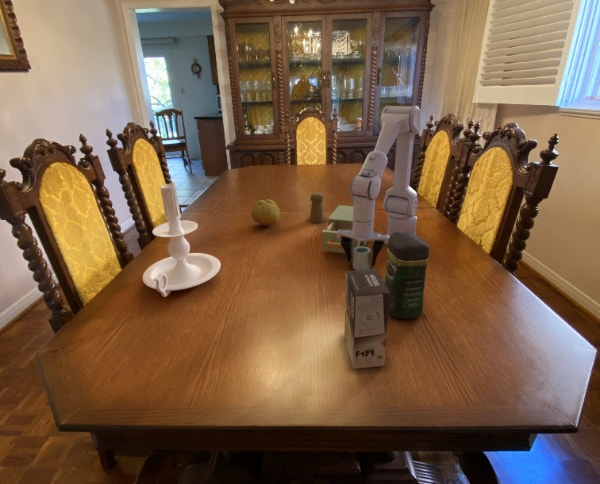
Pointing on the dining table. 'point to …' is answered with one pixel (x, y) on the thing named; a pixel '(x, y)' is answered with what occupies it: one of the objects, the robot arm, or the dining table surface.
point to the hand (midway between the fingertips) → (361, 262)
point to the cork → (317, 208)
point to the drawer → (331, 240)
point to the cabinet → (343, 216)
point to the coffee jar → (406, 274)
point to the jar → (361, 258)
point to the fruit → (265, 212)
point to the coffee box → (366, 318)
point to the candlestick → (178, 252)
